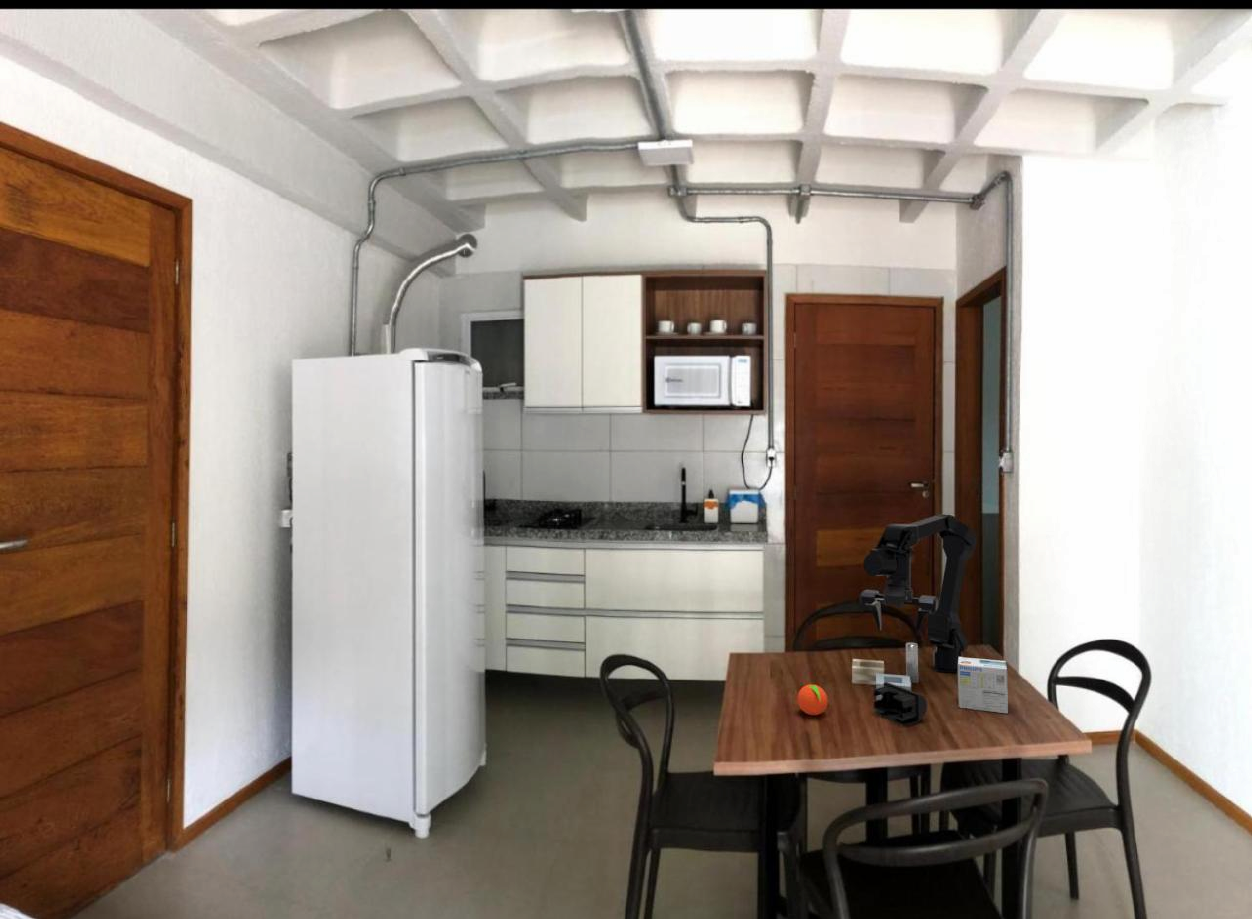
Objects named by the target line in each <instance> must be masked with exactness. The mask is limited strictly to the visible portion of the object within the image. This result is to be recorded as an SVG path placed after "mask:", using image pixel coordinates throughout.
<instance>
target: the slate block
mask: <svg viewBox="0 0 1252 919" xmlns="http://www.w3.org/2000/svg"><path fill="white" fill-rule="evenodd" d="M884 682H888V683H891V684H894V685H897V686H899V687H902V688H905V689H908V690H910V691H912V683H910V676H906V675H902V674H901V675H900V674H889V673H884V674H877V673H876V685H875V686H876V687H875V689H877V688H881V687H884ZM875 698H876V700H880V699H881V698H882V695H878V696H875ZM876 700H875V701H876Z"/></svg>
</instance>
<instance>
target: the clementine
mask: <svg viewBox="0 0 1252 919" xmlns="http://www.w3.org/2000/svg"><path fill="white" fill-rule="evenodd" d="M828 703H829V701H828V695H827V693H826V691H825V690H824V689H823V688H822V687H820V686H819V685H817V684H806V685H805V686H802V687H801V689H800V690H799V691H798V693H797V704H798V706H799V708H800V709H801V711H802V712H804V713H805V714H806V715H810V716H818V715H820V714H823V713H824V712H825V710H826V709H827V707H828Z"/></svg>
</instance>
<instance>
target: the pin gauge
mask: <svg viewBox="0 0 1252 919" xmlns="http://www.w3.org/2000/svg"><path fill="white" fill-rule="evenodd" d="M905 676H910V683H911V684H912V683H916V684H918V683H919V644H918V643H916V642H906V643H905Z"/></svg>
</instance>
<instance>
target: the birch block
mask: <svg viewBox="0 0 1252 919" xmlns="http://www.w3.org/2000/svg"><path fill="white" fill-rule="evenodd" d="M851 665H852V666H851V678H852V679H851V683H852V684H860V685H861V684H862V685H872V686H873V685H875V686H876V673H877V674H885V663H884V660H873V659H860V658H859V659H858V658H852V664H851Z"/></svg>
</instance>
